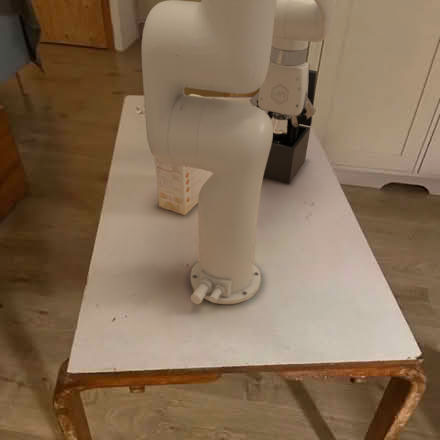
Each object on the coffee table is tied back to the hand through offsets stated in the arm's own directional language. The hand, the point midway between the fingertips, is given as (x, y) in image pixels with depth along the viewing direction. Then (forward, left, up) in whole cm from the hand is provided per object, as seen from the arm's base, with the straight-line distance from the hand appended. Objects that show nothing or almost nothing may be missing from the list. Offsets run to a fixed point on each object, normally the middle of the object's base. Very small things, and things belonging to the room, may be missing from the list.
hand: (278, 137), depth 105 cm
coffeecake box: (-21, +13, -8) cm, 26 cm away
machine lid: (+4, 0, +8) cm, 9 cm away
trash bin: (0, 0, -8) cm, 8 cm away
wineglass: (0, 0, -7) cm, 7 cm away
